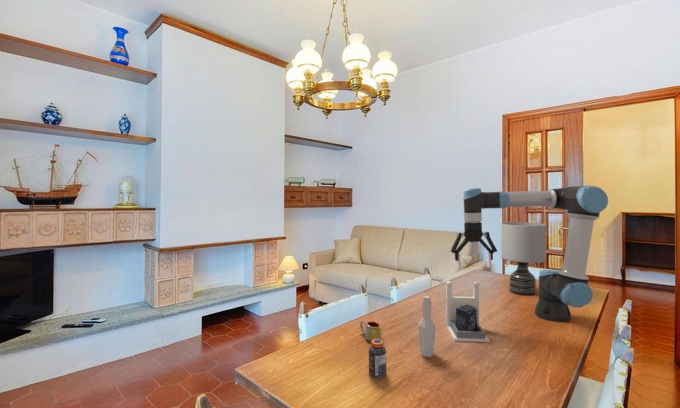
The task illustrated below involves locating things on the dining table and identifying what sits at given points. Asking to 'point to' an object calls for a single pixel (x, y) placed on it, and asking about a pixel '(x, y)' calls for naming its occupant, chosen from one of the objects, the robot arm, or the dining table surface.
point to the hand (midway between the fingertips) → (473, 267)
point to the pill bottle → (377, 359)
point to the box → (466, 318)
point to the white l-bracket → (451, 315)
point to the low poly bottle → (426, 329)
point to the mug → (371, 330)
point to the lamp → (523, 252)
